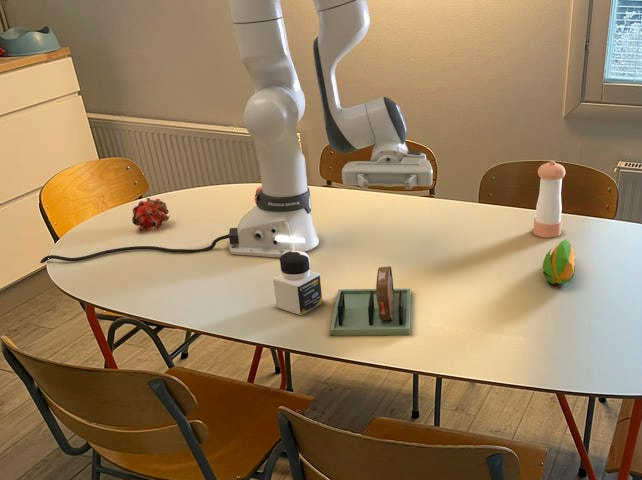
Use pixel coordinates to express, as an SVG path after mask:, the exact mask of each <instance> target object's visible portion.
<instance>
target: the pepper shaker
mask: <svg viewBox="0 0 642 480" xmlns="http://www.w3.org/2000/svg"><path fill="white" fill-rule="evenodd" d="M537 175H538V176H539V177H540V181H539V193H538V197H537V202H536V205H535V206H536V207H535V218H534V219H533V235H535V236H537V237H541V238H546V239H547V238H550V239H551V238H556V237H558V236H560V235H561V234H562V226H563V225H562V222H563V221H562V219H561V218H562V210H563V208H562V194H561V193H562V184H563V183H562V182H563V179H564V178H565V176H566V168H565V167H564V166H563V165H562V164H560V163H556V161H554V160H550V161H549V162H546V163H543V164H541V165H540V166H539V167H538V170H537Z"/></svg>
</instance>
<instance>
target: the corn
mask: <svg viewBox="0 0 642 480" xmlns="http://www.w3.org/2000/svg"><path fill="white" fill-rule="evenodd" d="M551 251H552V249H549V251H548V252H547V253H546V255H545V257H544V258H543V262H542V271H543V272H542V273H543V275H544V278H545V280H546V281H547V282H548V283H550V284H551V285H554V284H558V285H559V286H562V285H564V284H567V283H568V282H570V280H572V278H574V275H575V272H576V271H575V269H576V268H575V259H576V253H575V250H574V249H573V246H572V244H571V243H570V241H569V240H568V239H563V240H561V241H560V242H559V244H558V245H557V246H556V247H555V248H554V249H553V251H552V252H551Z"/></svg>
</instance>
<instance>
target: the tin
mask: <svg viewBox="0 0 642 480" xmlns="http://www.w3.org/2000/svg"><path fill="white" fill-rule="evenodd" d="M392 271H393V270H392V266H391V265H389V266H388V265H387V266H379V267H378V269H377V273H376V274H377V275H376V283H375V289H376V296H377V303H378V307H379V318H380V320H393V310H394V289H395V288H394V278H393V272H392Z"/></svg>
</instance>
